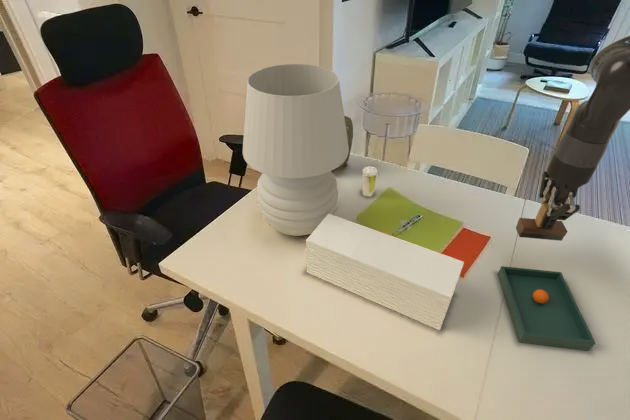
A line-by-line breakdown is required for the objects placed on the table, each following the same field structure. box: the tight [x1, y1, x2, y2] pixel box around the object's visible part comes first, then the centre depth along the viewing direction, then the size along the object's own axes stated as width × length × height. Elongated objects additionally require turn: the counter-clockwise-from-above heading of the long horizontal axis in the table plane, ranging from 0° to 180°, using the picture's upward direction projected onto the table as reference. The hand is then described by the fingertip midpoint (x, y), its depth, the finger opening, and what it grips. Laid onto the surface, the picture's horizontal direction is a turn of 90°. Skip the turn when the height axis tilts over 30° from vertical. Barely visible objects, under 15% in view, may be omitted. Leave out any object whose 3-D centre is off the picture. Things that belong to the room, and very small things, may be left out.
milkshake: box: [362, 165, 381, 198], centre depth 111 cm, size 4×5×10 cm
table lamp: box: [242, 63, 349, 237], centre depth 91 cm, size 25×25×40 cm
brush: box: [515, 203, 568, 242], centre depth 82 cm, size 9×4×8 cm, turn 82°
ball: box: [533, 290, 549, 304], centre depth 81 cm, size 3×3×3 cm
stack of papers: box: [305, 214, 465, 331], centre depth 83 cm, size 32×11×11 cm, turn 60°
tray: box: [497, 265, 596, 352], centre depth 80 cm, size 13×18×3 cm
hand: (543, 223), depth 83 cm, fingers closed on brush, 2 cm apart
